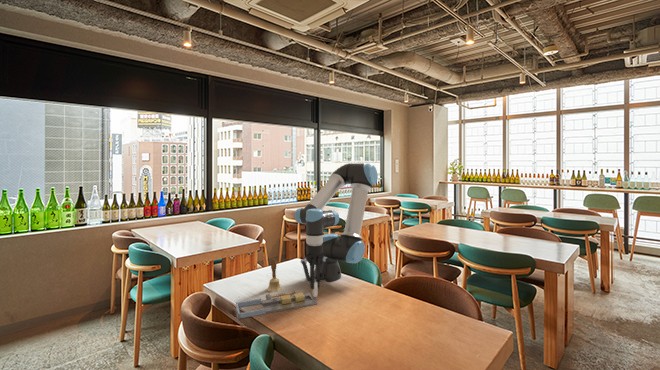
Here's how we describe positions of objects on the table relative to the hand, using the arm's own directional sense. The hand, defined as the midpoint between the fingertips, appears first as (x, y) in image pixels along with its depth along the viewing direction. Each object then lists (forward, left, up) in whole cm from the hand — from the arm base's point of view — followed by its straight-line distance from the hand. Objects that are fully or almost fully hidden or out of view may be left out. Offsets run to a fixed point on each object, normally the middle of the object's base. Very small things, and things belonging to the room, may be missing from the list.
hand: (315, 295), depth 140 cm
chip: (+13, 0, -2) cm, 13 cm away
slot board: (+12, 0, -3) cm, 12 cm away
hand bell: (+14, -19, -3) cm, 24 cm away
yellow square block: (+7, 0, -2) cm, 8 cm away
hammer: (+12, -10, -3) cm, 16 cm away
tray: (+28, 0, -3) cm, 29 cm away
